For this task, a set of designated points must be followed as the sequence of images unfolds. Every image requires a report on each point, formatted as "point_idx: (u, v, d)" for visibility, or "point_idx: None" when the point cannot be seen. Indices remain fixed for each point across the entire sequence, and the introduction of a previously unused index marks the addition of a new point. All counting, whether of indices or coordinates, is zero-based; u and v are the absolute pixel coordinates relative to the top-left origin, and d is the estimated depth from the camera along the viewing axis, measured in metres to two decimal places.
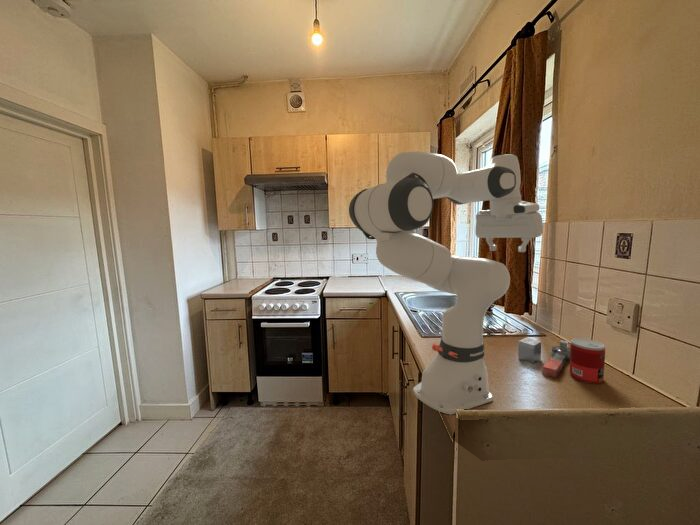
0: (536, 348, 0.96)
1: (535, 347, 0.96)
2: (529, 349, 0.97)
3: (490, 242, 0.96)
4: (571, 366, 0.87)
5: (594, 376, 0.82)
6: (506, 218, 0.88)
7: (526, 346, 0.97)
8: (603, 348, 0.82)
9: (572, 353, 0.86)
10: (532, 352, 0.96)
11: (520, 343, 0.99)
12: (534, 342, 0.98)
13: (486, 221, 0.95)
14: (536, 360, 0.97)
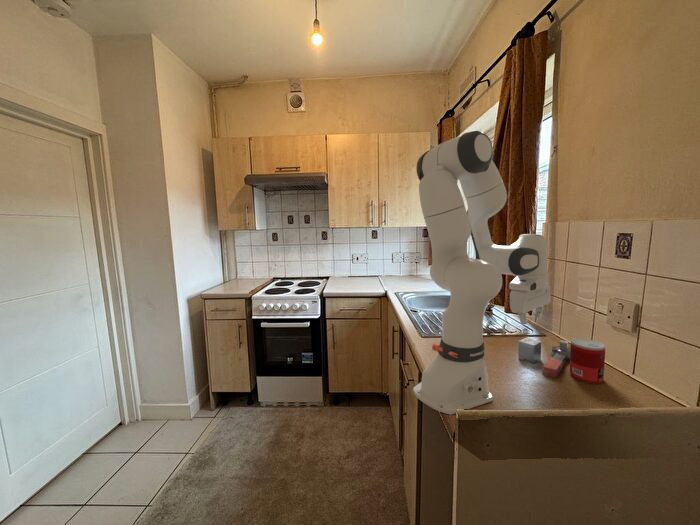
0: (536, 348, 0.96)
1: (535, 347, 0.96)
2: (529, 349, 0.97)
3: (538, 309, 1.01)
4: (571, 366, 0.87)
5: (594, 376, 0.82)
6: None
7: (526, 346, 0.97)
8: (603, 348, 0.82)
9: (572, 353, 0.86)
10: (532, 352, 0.96)
11: (520, 343, 0.99)
12: (534, 342, 0.98)
13: None
14: (536, 360, 0.97)
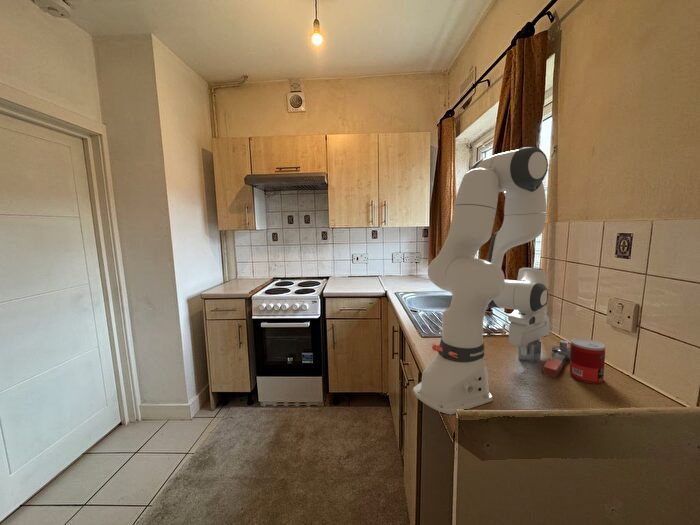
0: (536, 348, 0.96)
1: (535, 347, 0.96)
2: (529, 349, 0.97)
3: None
4: (571, 366, 0.87)
5: (594, 376, 0.82)
6: None
7: None
8: (603, 348, 0.82)
9: (572, 353, 0.86)
10: (532, 352, 0.96)
11: None
12: (534, 342, 0.98)
13: None
14: (536, 360, 0.97)
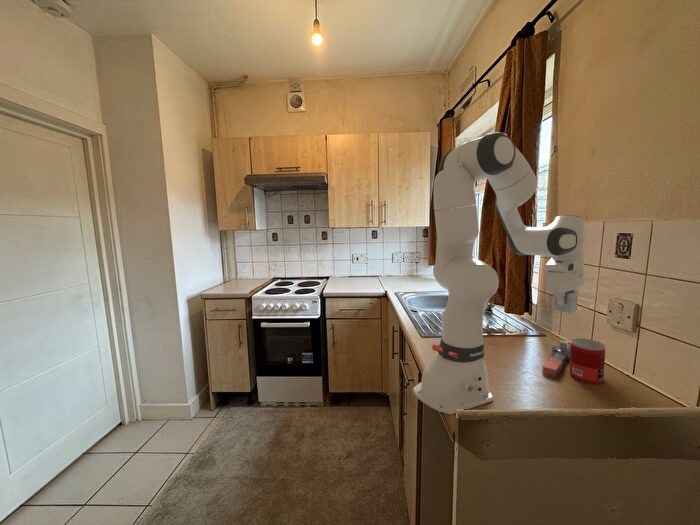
0: (573, 297, 0.95)
1: (572, 296, 0.95)
2: (566, 298, 0.96)
3: None
4: (571, 366, 0.87)
5: (594, 376, 0.82)
6: None
7: None
8: (603, 348, 0.82)
9: (572, 353, 0.86)
10: (569, 301, 0.95)
11: None
12: (570, 292, 0.96)
13: None
14: (573, 310, 0.96)
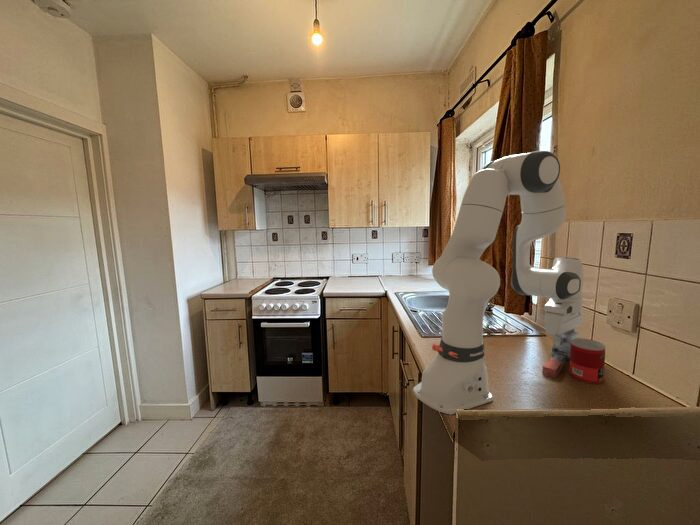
0: None
1: (573, 338, 0.96)
2: (566, 339, 0.97)
3: (569, 330, 1.02)
4: (571, 366, 0.87)
5: (594, 376, 0.82)
6: None
7: (563, 336, 0.97)
8: (603, 348, 0.82)
9: (572, 353, 0.86)
10: (569, 342, 0.96)
11: None
12: (571, 333, 0.97)
13: None
14: None
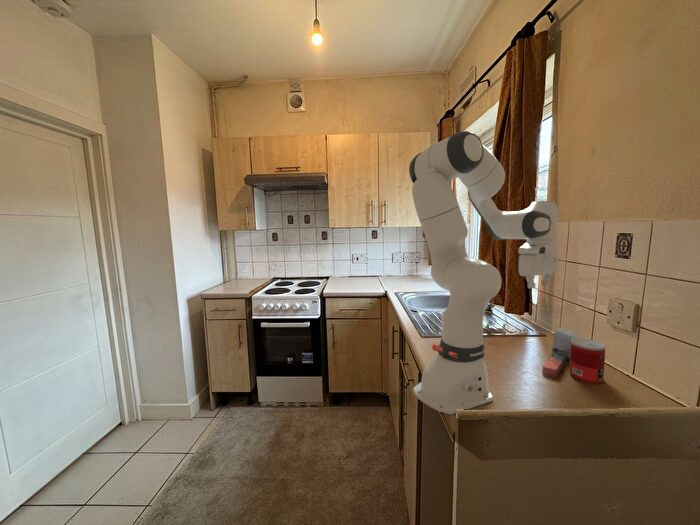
0: None
1: (572, 338, 0.96)
2: (566, 339, 0.97)
3: (545, 277, 1.04)
4: (571, 366, 0.87)
5: (594, 376, 0.82)
6: None
7: (563, 336, 0.97)
8: (603, 348, 0.82)
9: (572, 353, 0.86)
10: (569, 342, 0.96)
11: (556, 333, 0.99)
12: (571, 333, 0.97)
13: None
14: None
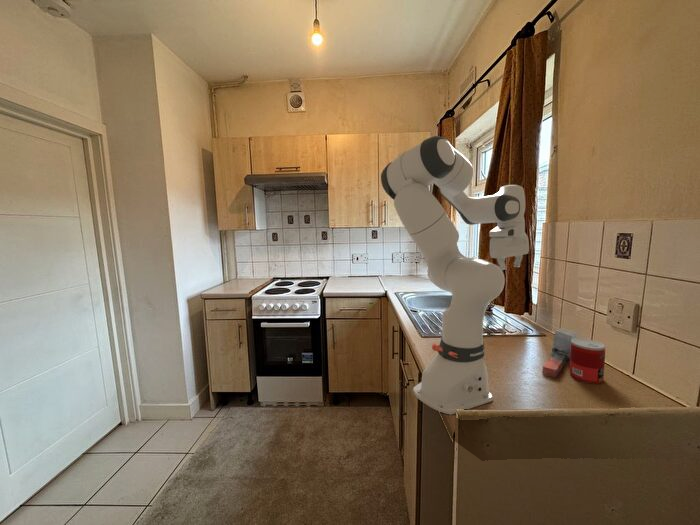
0: None
1: (572, 338, 0.96)
2: (566, 339, 0.97)
3: (517, 259, 1.08)
4: (571, 366, 0.87)
5: (594, 376, 0.82)
6: None
7: (563, 336, 0.97)
8: (603, 348, 0.82)
9: (572, 353, 0.86)
10: (569, 342, 0.96)
11: (556, 333, 0.99)
12: (571, 333, 0.97)
13: None
14: None
